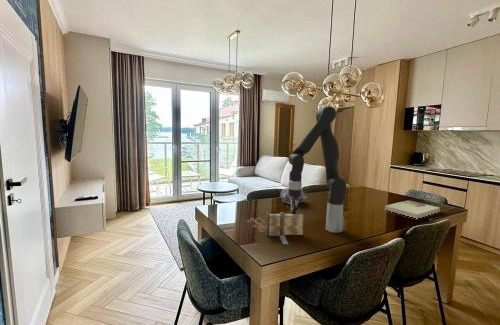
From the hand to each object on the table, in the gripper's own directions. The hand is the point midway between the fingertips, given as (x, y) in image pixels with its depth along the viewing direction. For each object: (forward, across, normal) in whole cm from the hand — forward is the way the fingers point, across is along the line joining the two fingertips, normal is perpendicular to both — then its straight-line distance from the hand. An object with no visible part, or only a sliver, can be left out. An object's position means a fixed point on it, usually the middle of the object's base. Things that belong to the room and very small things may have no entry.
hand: (293, 216), depth 146 cm
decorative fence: (+10, +10, +17) cm, 23 cm away
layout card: (+10, -10, +8) cm, 16 cm away
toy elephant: (+10, +63, -12) cm, 65 cm away
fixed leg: (+9, -6, +12) cm, 16 cm away
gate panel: (+9, -6, +1) cm, 10 cm away
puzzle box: (+10, +44, -103) cm, 113 cm away
